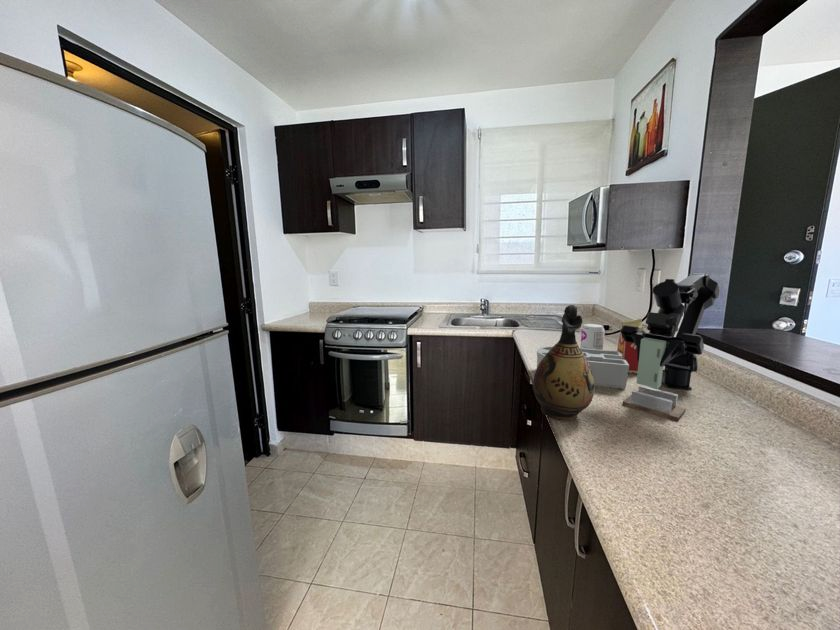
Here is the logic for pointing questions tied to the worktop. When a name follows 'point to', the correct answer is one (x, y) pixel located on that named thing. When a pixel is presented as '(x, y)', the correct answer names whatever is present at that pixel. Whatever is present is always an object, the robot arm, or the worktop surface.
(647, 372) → the door panel
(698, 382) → the worktop surface
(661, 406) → the slotted panel holder
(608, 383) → the gray compartment organizer
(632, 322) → the milk carton
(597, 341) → the supplement can
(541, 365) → the ceramic jug
